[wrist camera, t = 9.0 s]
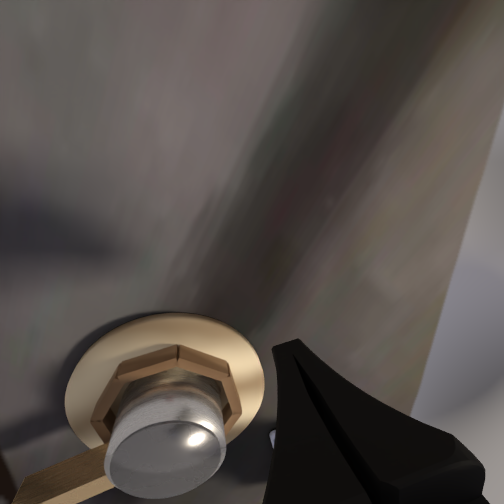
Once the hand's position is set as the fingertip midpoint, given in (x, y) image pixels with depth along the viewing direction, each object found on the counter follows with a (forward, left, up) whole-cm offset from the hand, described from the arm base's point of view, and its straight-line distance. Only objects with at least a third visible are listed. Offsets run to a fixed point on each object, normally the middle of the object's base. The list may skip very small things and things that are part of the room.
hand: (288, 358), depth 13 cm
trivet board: (-9, +9, -9) cm, 16 cm away
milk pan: (-9, +12, -8) cm, 18 cm away
